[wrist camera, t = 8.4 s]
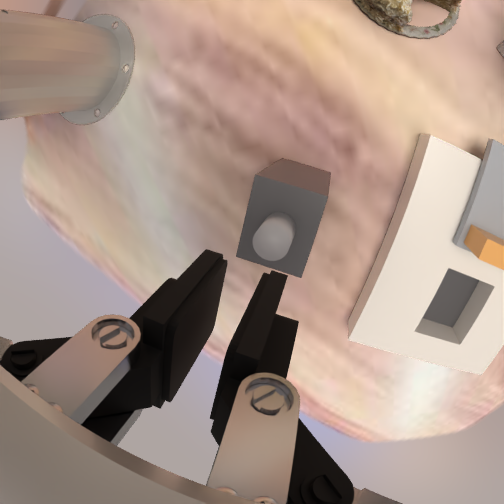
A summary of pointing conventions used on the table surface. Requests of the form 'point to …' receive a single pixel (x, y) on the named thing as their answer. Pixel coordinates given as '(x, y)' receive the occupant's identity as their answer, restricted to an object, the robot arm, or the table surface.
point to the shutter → (486, 210)
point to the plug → (284, 216)
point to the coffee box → (501, 48)
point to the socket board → (432, 272)
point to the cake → (408, 16)
